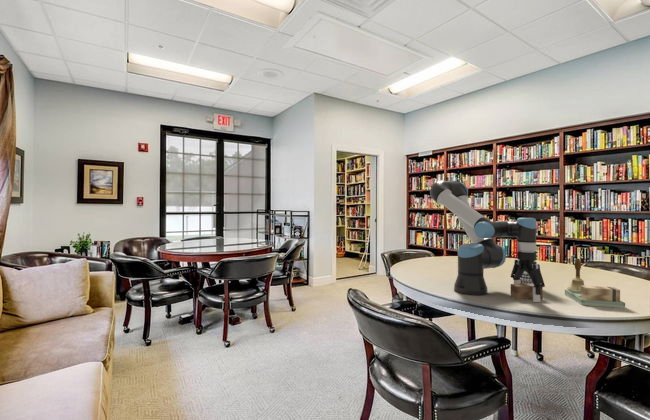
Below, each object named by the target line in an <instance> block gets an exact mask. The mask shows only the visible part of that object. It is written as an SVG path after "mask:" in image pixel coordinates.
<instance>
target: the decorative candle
mask: <svg viewBox="0 0 650 420" xmlns="http://www.w3.org/2000/svg"><path fill="white" fill-rule="evenodd" d="M517 252H518V250H517V251H516V253H517ZM535 252H536V260H535V261H534V264H538V262H537V260H538V258H537V257H538V255H537V254H538V253H539V252H538V251H537V250H536V251H535ZM517 260H519V259H517ZM520 279H521V284H533V282H532V280H531V278H530V275H529V274H528V273H527V272H525V271H524V273H523V274H522V276H521V277H520Z"/></svg>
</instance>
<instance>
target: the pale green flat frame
mask: <svg viewBox="0 0 650 420" xmlns="http://www.w3.org/2000/svg"><path fill="white" fill-rule="evenodd" d="M564 295H565V296H567V297H568V298H570V299H572V300H573V301H575V302H577V303H578V304H580V305H582V306H591V307H592V306H595V307H603V308H604V307H606V308H618V309H626V302H624V301H622V300H620V302H613V301H599V300H585V299H582V298H581V291H577V290H569V289H564Z"/></svg>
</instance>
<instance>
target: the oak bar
mask: <svg viewBox="0 0 650 420" xmlns="http://www.w3.org/2000/svg"><path fill="white" fill-rule="evenodd" d="M581 298H582V299H585V300H599V301H613V302H620V301H621V289H619V288H616V287H612V286H594V285H584V286H582V285H581Z"/></svg>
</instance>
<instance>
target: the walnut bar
mask: <svg viewBox="0 0 650 420" xmlns="http://www.w3.org/2000/svg"><path fill="white" fill-rule="evenodd" d="M533 286H534V284H514V283H510V298H512V297H513V298H512V299H514V298H515V300H517V299H518V300H519V299H520V300H519V301H522V300H521V299H524V300H533ZM543 288H544V287H541V295H540V300H543V294H544V293H543Z"/></svg>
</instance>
